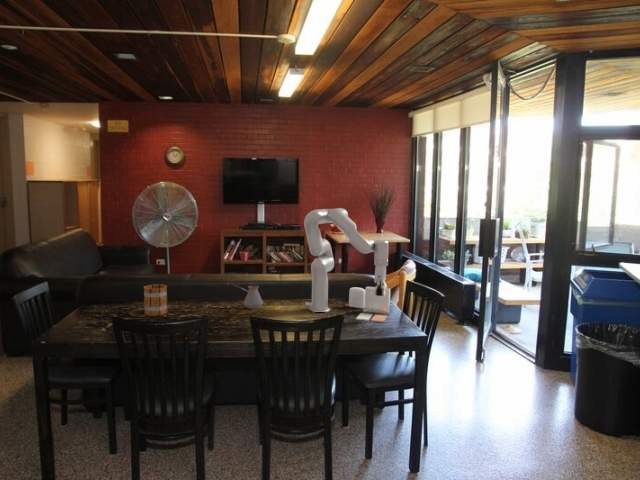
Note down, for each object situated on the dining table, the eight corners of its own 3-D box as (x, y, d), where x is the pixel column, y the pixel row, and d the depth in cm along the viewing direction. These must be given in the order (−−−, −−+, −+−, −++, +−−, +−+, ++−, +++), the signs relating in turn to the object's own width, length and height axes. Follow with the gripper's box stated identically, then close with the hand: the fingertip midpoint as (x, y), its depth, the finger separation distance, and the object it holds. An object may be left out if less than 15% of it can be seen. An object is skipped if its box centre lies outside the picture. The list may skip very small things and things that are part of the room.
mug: (162, 316, 275) (161, 289, 273) (139, 314, 276) (138, 288, 274) (176, 307, 294) (176, 282, 292) (154, 306, 296) (154, 281, 294)
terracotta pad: (370, 321, 273) (370, 319, 273) (375, 315, 285) (375, 314, 285) (383, 322, 271) (383, 321, 271) (387, 317, 283) (387, 315, 283)
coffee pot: (264, 305, 303) (264, 281, 301) (260, 310, 292) (261, 285, 290) (229, 304, 304) (229, 280, 302) (225, 309, 293) (225, 284, 291)
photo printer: (365, 307, 303) (366, 287, 302) (363, 309, 299) (364, 289, 298) (350, 305, 307) (350, 286, 306) (347, 307, 303) (348, 287, 302)
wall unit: (362, 312, 291) (363, 288, 289) (365, 309, 299) (366, 285, 297) (389, 315, 286) (390, 290, 285) (391, 312, 294) (392, 288, 292)
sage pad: (355, 319, 276) (355, 318, 276) (360, 314, 287) (360, 312, 287) (368, 320, 274) (368, 319, 274) (372, 315, 285) (372, 314, 285)
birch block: (374, 295, 275) (375, 286, 274) (376, 293, 280) (377, 285, 279) (383, 296, 273) (384, 287, 273) (385, 294, 278) (385, 285, 277)
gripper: (377, 259, 283) (376, 290, 286) (371, 264, 267) (370, 297, 269) (390, 260, 281) (389, 291, 283) (385, 265, 265) (384, 298, 267)
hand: (380, 294), depth 276 cm, fingers closed on birch block, 5 cm apart
